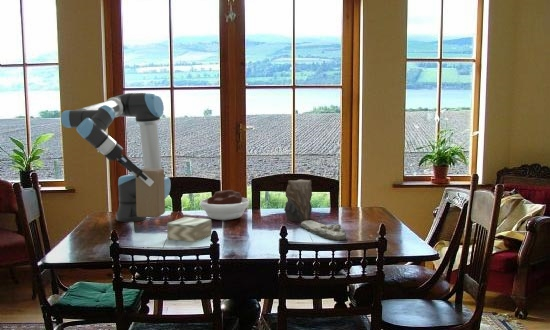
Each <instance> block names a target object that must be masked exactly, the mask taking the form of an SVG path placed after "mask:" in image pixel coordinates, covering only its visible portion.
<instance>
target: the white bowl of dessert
mask: <svg viewBox="0 0 550 330" xmlns="http://www.w3.org/2000/svg"><path fill="white" fill-rule="evenodd" d="M199 204H200V207H201V208H202V210H203V211H204V212H205V214H206V216H207V217H208V219H211V220H218V221H232V220H234V219H239V218H241V217H242V216H243V214H244V212H245V210H246V209H247V208H248V207H249V204H250V200H249V198H247V197H243V196H242V195H241V192H239V191H234V190H233V189H227V190H219V191H215V192H214V194H213V195H212V196H210V197H208V198H203V199H201V200H200V202H199Z"/></svg>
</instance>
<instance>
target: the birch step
mask: <svg viewBox="0 0 550 330" xmlns="http://www.w3.org/2000/svg"><path fill="white" fill-rule="evenodd" d="M166 229H167V234H166V235H167V240H172V241H183V240H184V242H185V241H186V242H193V243H194V242H198V241H200V240H203V239H205V238H207V237H209V236H211V233H212V230H213V229H212V219H211V218H200V217H197V218H196V217H188V216H184V217H181V218H178V219H176V220H173V221H169V222H167V223H166Z"/></svg>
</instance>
